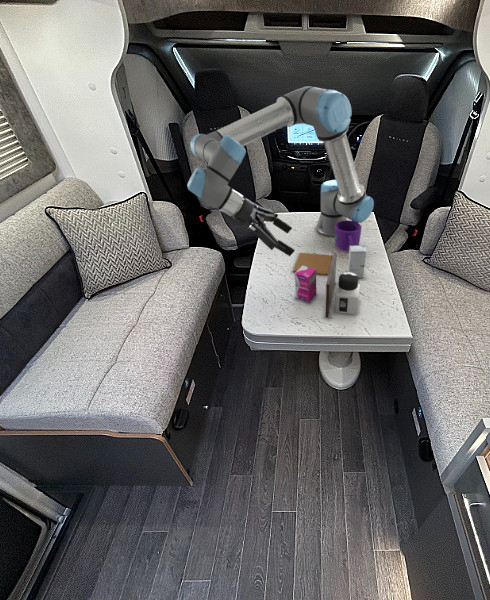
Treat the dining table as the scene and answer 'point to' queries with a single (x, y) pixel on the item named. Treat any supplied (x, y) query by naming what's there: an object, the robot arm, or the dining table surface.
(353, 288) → the container
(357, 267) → the cosmetic box
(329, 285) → the backboard
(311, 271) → the supplement box
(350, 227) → the mug
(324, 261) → the cork mat
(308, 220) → the dining table surface
